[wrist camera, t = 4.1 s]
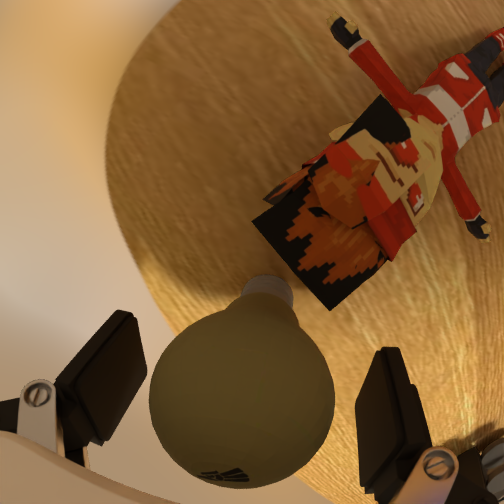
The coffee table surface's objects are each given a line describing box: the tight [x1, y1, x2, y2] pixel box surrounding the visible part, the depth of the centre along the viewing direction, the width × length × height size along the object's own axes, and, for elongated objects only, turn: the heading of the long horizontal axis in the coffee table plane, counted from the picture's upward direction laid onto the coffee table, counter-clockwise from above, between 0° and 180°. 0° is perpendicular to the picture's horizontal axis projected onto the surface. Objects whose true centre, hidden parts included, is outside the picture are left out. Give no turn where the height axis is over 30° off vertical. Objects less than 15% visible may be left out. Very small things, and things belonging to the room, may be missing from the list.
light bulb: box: [149, 275, 335, 489], centre depth 10 cm, size 6×6×10 cm
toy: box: [251, 11, 504, 311], centre depth 9 cm, size 10×7×15 cm
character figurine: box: [457, 438, 504, 494], centre depth 17 cm, size 8×7×15 cm
